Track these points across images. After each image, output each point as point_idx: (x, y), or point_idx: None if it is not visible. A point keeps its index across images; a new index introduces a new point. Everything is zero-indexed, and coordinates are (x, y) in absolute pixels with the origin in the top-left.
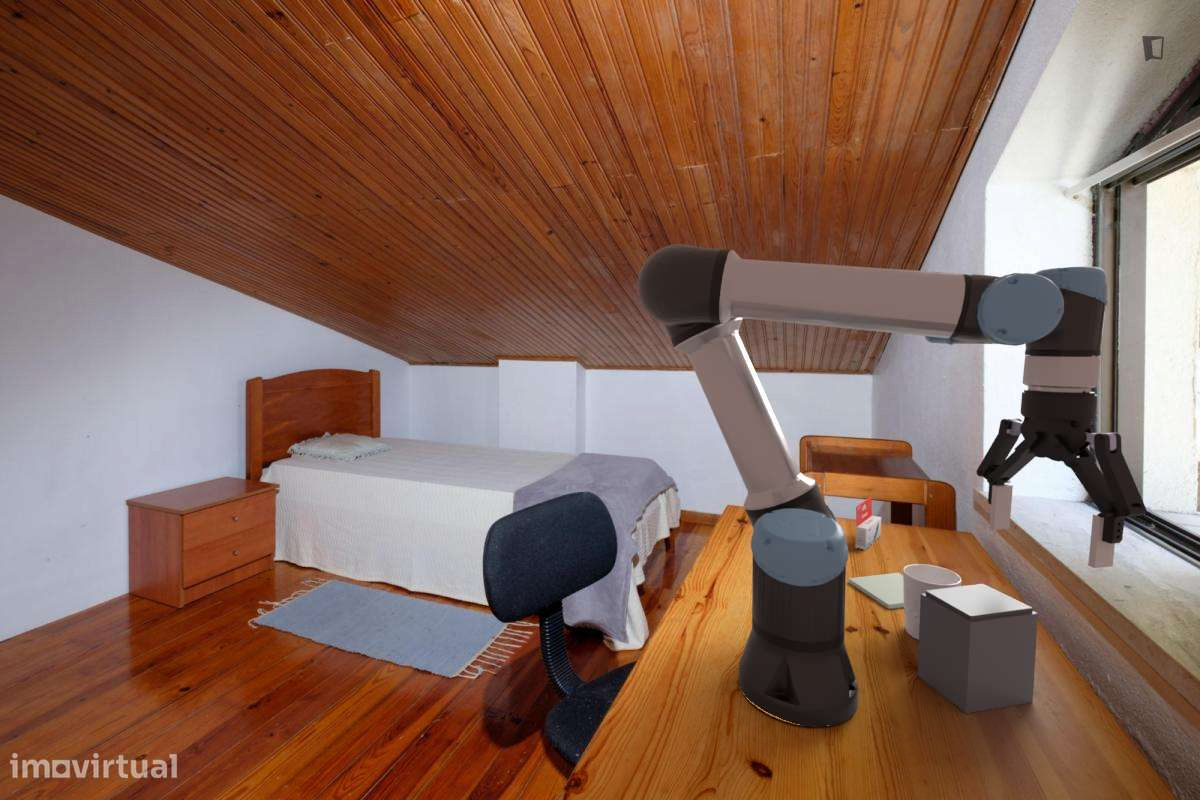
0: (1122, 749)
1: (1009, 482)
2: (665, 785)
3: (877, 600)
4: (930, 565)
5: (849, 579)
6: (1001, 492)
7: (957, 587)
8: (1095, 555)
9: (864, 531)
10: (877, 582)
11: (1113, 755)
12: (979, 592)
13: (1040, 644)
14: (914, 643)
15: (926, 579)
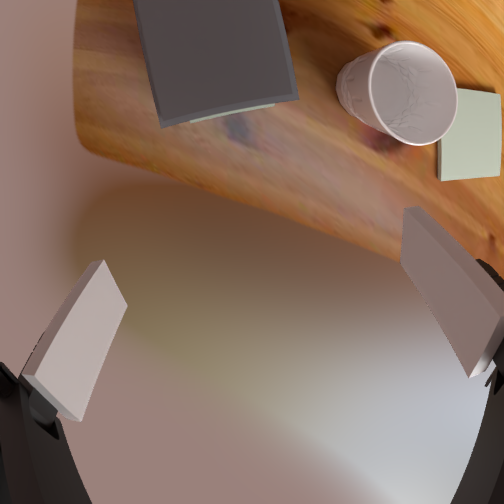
0: (122, 156)
1: (487, 380)
2: None
3: None
4: (449, 124)
5: (498, 94)
6: (475, 316)
7: (274, 22)
8: (78, 282)
9: None
10: (487, 124)
11: (113, 141)
12: (243, 53)
13: (323, 223)
14: (343, 50)
15: (434, 113)
